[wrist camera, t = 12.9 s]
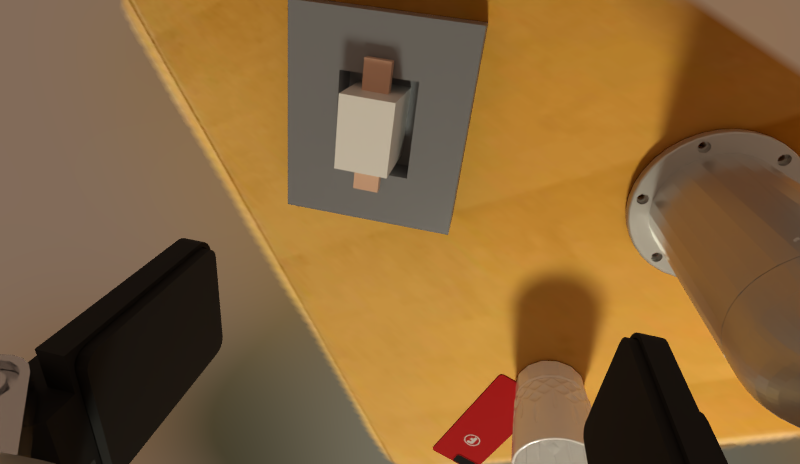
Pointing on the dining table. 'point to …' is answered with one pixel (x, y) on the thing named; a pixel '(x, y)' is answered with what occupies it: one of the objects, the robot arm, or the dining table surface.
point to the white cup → (549, 415)
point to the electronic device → (481, 425)
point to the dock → (413, 67)
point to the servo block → (371, 125)
